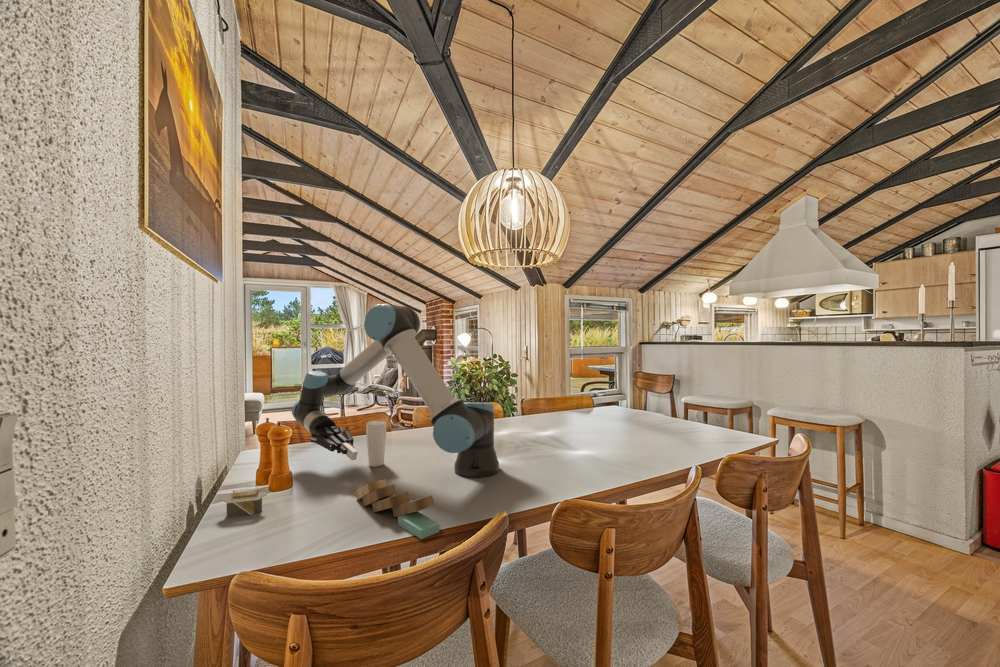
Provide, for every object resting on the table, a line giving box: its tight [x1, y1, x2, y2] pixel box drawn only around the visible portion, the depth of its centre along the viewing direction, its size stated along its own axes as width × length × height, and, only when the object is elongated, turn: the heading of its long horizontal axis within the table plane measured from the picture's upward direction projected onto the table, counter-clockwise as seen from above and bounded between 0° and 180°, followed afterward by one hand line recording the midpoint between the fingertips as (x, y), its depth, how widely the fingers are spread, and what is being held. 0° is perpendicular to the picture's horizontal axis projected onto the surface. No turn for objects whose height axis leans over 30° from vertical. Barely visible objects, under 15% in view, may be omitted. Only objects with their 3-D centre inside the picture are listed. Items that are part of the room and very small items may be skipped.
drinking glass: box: [365, 420, 387, 468], centre depth 143 cm, size 7×7×15 cm
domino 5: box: [397, 511, 440, 540], centre depth 96 cm, size 5×2×10 cm
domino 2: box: [361, 483, 397, 507], centre depth 107 cm, size 5×2×10 cm
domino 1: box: [354, 478, 388, 500], centre depth 111 cm, size 5×2×10 cm
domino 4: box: [391, 495, 435, 518], centre depth 100 cm, size 5×2×10 cm
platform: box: [221, 487, 268, 516], centre depth 103 cm, size 12×18×7 cm, turn 107°
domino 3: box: [371, 491, 411, 513], centre depth 104 cm, size 5×2×10 cm
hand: (354, 455), depth 124 cm, fingers closed
